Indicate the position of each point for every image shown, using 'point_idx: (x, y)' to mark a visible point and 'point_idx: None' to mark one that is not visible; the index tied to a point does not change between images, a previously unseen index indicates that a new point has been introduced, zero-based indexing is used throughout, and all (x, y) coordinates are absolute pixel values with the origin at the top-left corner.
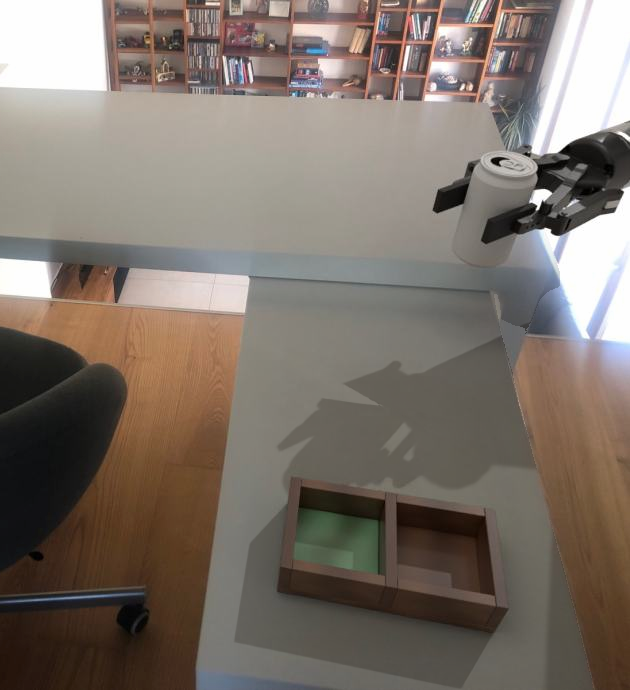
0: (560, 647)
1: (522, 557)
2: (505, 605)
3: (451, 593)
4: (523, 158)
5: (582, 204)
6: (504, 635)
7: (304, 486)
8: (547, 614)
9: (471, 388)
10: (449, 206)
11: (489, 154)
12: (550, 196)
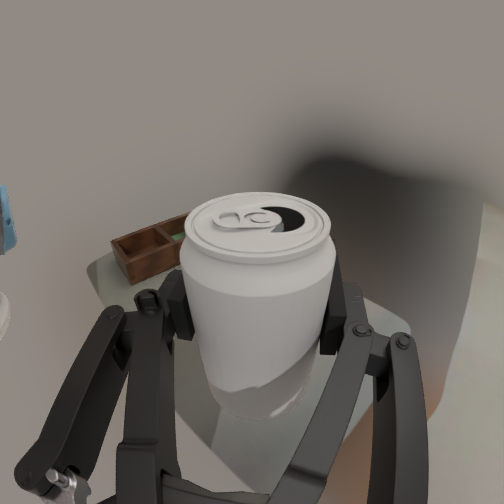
0: (92, 270)
1: (111, 288)
2: (111, 241)
3: (132, 233)
4: (247, 245)
5: (83, 366)
6: (112, 262)
7: None
8: (97, 276)
9: (187, 372)
10: None
11: (322, 221)
12: (158, 355)
